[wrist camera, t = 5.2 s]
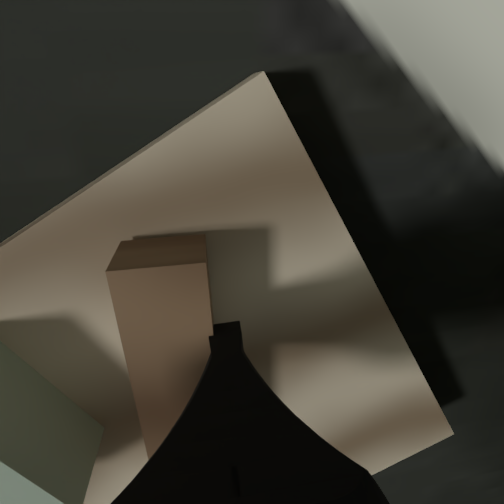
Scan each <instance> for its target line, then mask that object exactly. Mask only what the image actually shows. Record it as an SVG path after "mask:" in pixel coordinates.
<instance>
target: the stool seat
mask: <svg viewBox="0 0 504 504" xmlns="http://www.w3.org/2000/svg"><path fill="white" fill-rule="evenodd" d="M200 234H205V236H206V247H207V257H208V267H209V277H210V287H211V297H212V308H213V318H214V324H219V323H226V322H233V321H240V326H241V331H242V339H243V347H244V352H245V354H246V355H247V357H248V358H249V360H250V361H251V363H252V365H253V366H254V367H255V369H256V370H257V372H258V373H259V374H260V376H261V377H262V378H263V380H264V381H265V382H266V383H267V385H268V386H269V387H270V388H271V390H272V391H273V392H274V393H275V394H276V395H277V396H278V397H279V399H280V400H281V401H282V402H283V403H284V404H285V405H286V406H287V407H288V408H289V409H290V410H291V411H292V412H293V413H294V414H295V415H296V416H297V417H298V418H300V419H301V420H302V421H303V422H304V423H305V424H306V425H308V426H309V427H310V428H311V429H312V430H313V431H314V432H316V433H317V434H318V435H319V436H320V437H322V438H323V439H324V440H325V441H327V442H328V443H329V444H331V445H332V446H333V447H334V448H336V449H337V450H339V451H340V452H341V453H343V454H344V455H346V456H347V457H348V458H350V459H351V460H353V461H354V462H356V463H357V464H359V465H360V466H362V467H363V468H365V469H367V470H368V472H369V473H370V474H371V475H373V474H375V473H377V472H379V471H381V470H383V469H385V468H387V467H389V466H391V465H393V464H395V463H397V462H399V461H401V460H403V459H405V458H407V457H409V456H411V455H413V454H415V453H417V452H419V451H421V450H423V449H425V448H427V447H429V446H431V445H433V444H435V443H437V442H439V441H441V440H443V439H445V438H447V437H449V436H451V435H453V434H454V433H453V431H452V429H451V427H450V425H449V423H448V421H447V420H446V418H445V416H444V414H443V412H442V410H441V408H440V406H439V404H438V402H437V400H436V399H435V397H434V395H433V393H432V391H431V389H430V387H429V385H428V383H427V381H426V379H425V378H424V376H423V374H422V372H421V370H420V368H419V366H418V364H417V362H416V360H415V358H414V357H413V355H412V353H411V351H410V349H409V347H408V345H407V343H406V341H405V339H404V337H403V336H402V334H401V332H400V330H399V328H398V326H397V324H396V322H395V320H394V318H393V316H392V315H391V313H390V311H389V309H388V307H387V305H386V303H385V301H384V299H383V297H382V295H381V294H380V292H379V290H378V288H377V286H376V284H375V282H374V280H373V278H372V276H371V274H370V273H369V271H368V269H367V267H366V265H365V263H364V261H363V259H362V257H361V255H360V253H359V252H358V250H357V248H356V246H355V244H354V242H353V240H352V238H351V236H350V234H349V232H348V231H347V229H346V227H345V225H344V223H343V221H342V219H341V217H340V215H339V213H338V211H337V210H336V208H335V206H334V204H333V202H332V200H331V198H330V196H329V194H328V192H327V190H326V189H325V187H324V185H323V183H322V181H321V179H320V177H319V175H318V173H317V171H316V169H315V168H314V166H313V164H312V162H311V160H310V158H309V156H308V154H307V152H306V150H305V148H304V147H303V145H302V143H301V141H300V139H299V137H298V135H297V133H296V131H295V129H294V127H293V126H292V124H291V122H290V120H289V118H288V116H287V114H286V112H285V110H284V108H283V106H282V105H281V103H280V101H279V99H278V97H277V95H276V93H275V91H274V89H273V87H272V85H271V84H270V82H269V80H268V78H267V76H266V74H265V72H264V71H262V72H257V73H254V74H252V75H251V76H249V77H248V78H246V79H245V80H243V81H242V82H240V83H239V84H237V85H236V86H234V87H233V88H231V89H230V90H228V91H227V92H225V93H224V94H222V95H221V96H219V97H218V98H216V99H215V100H213V101H212V102H210V103H209V104H207V105H206V106H204V107H203V108H201V109H200V110H198V111H197V112H196V113H194V114H193V115H191V116H190V117H188V118H187V119H185V120H184V121H182V122H181V123H179V124H178V125H176V126H175V127H173V128H172V129H170V130H169V131H167V132H166V133H164V134H163V135H161V136H160V137H158V138H157V139H155V140H154V141H152V142H151V143H149V144H148V145H146V146H145V147H143V148H142V149H140V150H139V151H137V152H136V153H134V154H133V155H131V156H130V157H128V158H127V159H125V160H124V161H122V162H121V163H119V164H118V165H116V166H115V167H113V168H112V169H110V170H109V171H107V172H106V173H104V174H103V175H101V176H100V177H99V178H97V179H96V180H94V181H93V182H91V183H90V184H88V185H87V186H85V187H84V188H82V189H81V190H79V191H78V192H76V193H75V194H73V195H72V196H70V197H69V198H67V199H66V200H64V201H63V202H61V203H60V204H58V205H57V206H55V207H54V208H52V209H51V210H49V211H48V212H46V213H45V214H43V215H42V216H40V217H39V218H37V219H36V220H34V221H33V222H31V223H30V224H28V225H27V226H25V227H24V228H22V229H21V230H19V231H18V232H16V233H15V234H13V235H12V236H10V237H9V238H7V239H6V240H4V241H3V242H2V243H0V341H1V342H2V343H3V344H4V345H6V346H7V347H8V348H9V349H10V350H12V351H13V352H14V353H15V354H16V355H18V356H19V357H20V358H21V359H22V360H24V361H25V362H26V363H27V364H29V365H30V366H31V367H32V368H33V369H35V370H36V371H37V372H38V373H39V374H41V375H42V376H43V377H44V378H45V379H47V380H48V381H49V382H50V383H51V384H53V385H54V386H55V387H56V388H57V389H59V390H60V391H61V392H62V393H63V394H65V395H66V396H67V397H68V398H69V399H71V400H72V401H73V402H74V403H75V404H77V405H78V406H79V407H80V408H81V409H83V410H84V411H85V412H86V413H87V414H89V415H90V416H91V417H92V418H93V419H95V420H96V421H97V422H98V423H99V424H101V425H102V426H103V427H104V431H103V435H102V439H101V442H100V446H99V449H98V453H97V456H96V460H95V463H94V467H93V470H92V474H91V478H90V481H89V485H88V488H87V492H86V495H85V499H84V502H83V504H111V503H112V502H113V500H114V499H115V498H116V497H117V496H118V495H119V494H120V493H121V492H122V491H123V490H124V489H125V488H126V487H127V485H128V484H129V483H130V482H131V481H132V480H133V479H134V478H135V476H136V475H137V474H138V473H139V471H140V470H141V469H142V468H143V466H144V465H145V464H146V463H147V461H148V456H147V452H146V447H145V443H144V439H143V434H142V430H141V426H140V421H139V417H138V413H137V408H136V404H135V399H134V395H133V391H132V386H131V382H130V378H129V373H128V369H127V364H126V360H125V356H124V351H123V347H122V343H121V338H120V334H119V330H118V325H117V321H116V316H115V312H114V308H113V303H112V299H111V295H110V290H109V286H108V281H107V277H106V273H105V271H106V269H107V267H108V265H109V263H110V261H111V259H112V257H113V255H114V253H115V252H116V250H117V248H118V246H119V244H120V242H121V241H126V240H138V239H151V238H163V237H175V236H187V235H200Z"/></svg>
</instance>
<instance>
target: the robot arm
mask: <svg viewBox="0 0 504 504" xmlns="http://www.w3.org/2000/svg"><path fill="white" fill-rule="evenodd" d="M209 344H210V350H211V353H210V356H209V359H208V361H207V364H206V366H205V369H204V371H203V373H202V375H201V378H200V380H199V382H198V384H197V386H196V388H195V390H194V392H193V394H192V396H191V398H190V400H189V402H188V403H187V405H186V407H185V409H184V410H183V412H182V414H181V415H180V417H179V418H178V420H177V422H176V423H175V425H174V426H173V428H172V429H171V431H170V432H169V434H168V435H167V437H166V438H165V439H164V441H163V442H162V444H161V445H160V446H159V448H158V449H157V450H156V452H155V453H154V454H153V455H152V456H151V458H150V459H149V460H148V461H147V463H146V464H145V465H144V466H143V468H142V469H141V470H140V471H139V473H138V474H137V475H136V476H135V478H134V479H133V480H132V481H131V482H130V483H129V484H128V485H127V487H126V488H125V489H124V490H123V491H122V492H121V493H120V494H119V495H118V496H117V497H116V498H115V499H114V500H113V502H112V503H111V504H389V502H388V500H387V499H386V497H385V495H384V494H383V492H382V491H381V489H380V487H379V486H378V484H377V483H376V482H375V480H374V479H373V477H372V476H371V474H370V473H369V472H368V470H367V469H365V468H363V467H362V466H360V465H359V464H357V463H356V462H354V461H353V460H351V459H350V458H348V457H347V456H346V455H344V454H343V453H341V452H340V451H339V450H337V449H336V448H334V447H333V446H332V445H331V444H329V443H328V442H327V441H325V440H324V439H323V438H322V437H320V436H319V435H318V434H317V433H316V432H314V431H313V430H312V429H311V428H310V427H309V426H308V425H306V424H305V423H304V422H303V421H302V420H301V419H300V418H298V417H297V416H296V415H295V414H294V413H293V412H292V411H291V410H290V409H289V408H288V407H287V406H286V405H285V404H284V403H283V402H282V401H281V400H280V399H279V397H278V396H277V395H276V394H275V393H274V392H273V391H272V390H271V388H270V387H269V386H268V385H267V383H266V382H265V381H264V380H263V378H262V377H261V376H260V374H259V373H258V372H257V370H256V369H255V367H254V366H253V365H252V363H251V361H250V360H249V358H248V357H247V355H246V354H245V352H244V347H243V339H242V331H241V326H240V321H233V322H226V323H219V324H213V336H209Z"/></svg>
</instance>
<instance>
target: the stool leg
mask: <svg viewBox="0 0 504 504" xmlns="http://www.w3.org/2000/svg"><path fill="white" fill-rule="evenodd" d="M105 273H106V277H107V281H108V286H109V290H110V295H111V299H112V303H113V308H114V312H115V316H116V321H117V325H118V330H119V334H120V338H121V343H122V347H123V351H124V356H125V360H126V364H127V369H128V373H129V378H130V382H131V386H132V391H133V395H134V399H135V404H136V408H137V413H138V417H139V421H140V426H141V430H142V434H143V439H144V443H145V447H146V452H147V456H148V460H149V459H150V458H151V456H152V455H153V454H154V453H155V452H156V450H157V449H158V448H159V446H160V445H161V444H162V442H163V441H164V439H165V438H166V437H167V435H168V434H169V432H170V431H171V429H172V428H173V426H174V425H175V423H176V422H177V420H178V418H179V417H180V415H181V414H182V412H183V410H184V409H185V407H186V405H187V403H188V402H189V400H190V398H191V396H192V394H193V392H194V390H195V388H196V386H197V384H198V382H199V380H200V378H201V375H202V373H203V371H204V369H205V366H206V364H207V361H208V359H209V356H210V353H211V350H210V344H209V336H213V324H214V318H213V308H212V297H211V287H210V277H209V267H208V257H207V247H206V236H205V234H200V235H187V236H175V237H163V238H151V239H138V240H126V241H121V242H120V244H119V246H118V248H117V250H116V252H115V253H114V255H113V257H112V259H111V261H110V263H109V265H108V267H107V269H106V271H105Z"/></svg>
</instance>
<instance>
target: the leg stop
mask: <svg viewBox="0 0 504 504" xmlns="http://www.w3.org/2000/svg"><path fill="white" fill-rule="evenodd" d="M103 431H104V427H103V426H102V425H101V424H99V423H98V422H97V421H96V420H95V419H93V418H92V417H91V416H90V415H89V414H87V413H86V412H85V411H84V410H83V409H81V408H80V407H79V406H78V405H77V404H75V403H74V402H73V401H72V400H71V399H69V398H68V397H67V396H66V395H65V394H63V393H62V392H61V391H60V390H59V389H57V388H56V387H55V386H54V385H53V384H51V383H50V382H49V381H48V380H47V379H45V378H44V377H43V376H42V375H41V374H39V373H38V372H37V371H36V370H35V369H33V368H32V367H31V366H30V365H29V364H27V363H26V362H25V361H24V360H22V359H21V358H20V357H19V356H18V355H16V354H15V353H14V352H13V351H12V350H10V349H9V348H8V347H7V346H6V345H4V344H3V343H2V342H1V341H0V504H83V502H84V499H85V495H86V492H87V488H88V485H89V481H90V478H91V474H92V470H93V467H94V463H95V460H96V456H97V453H98V449H99V446H100V442H101V439H102V435H103Z"/></svg>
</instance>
